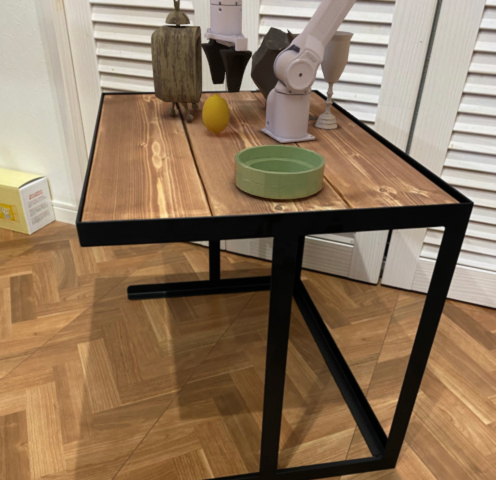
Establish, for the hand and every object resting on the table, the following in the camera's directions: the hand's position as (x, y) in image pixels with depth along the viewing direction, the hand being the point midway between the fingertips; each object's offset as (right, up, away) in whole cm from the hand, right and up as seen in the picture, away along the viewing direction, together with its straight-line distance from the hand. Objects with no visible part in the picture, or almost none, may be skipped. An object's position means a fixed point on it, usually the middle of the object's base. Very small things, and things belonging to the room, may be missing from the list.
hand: (225, 87), depth 98 cm
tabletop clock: (-11, +2, +19) cm, 22 cm away
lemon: (-2, -7, +7) cm, 10 cm away
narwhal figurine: (+12, +6, +25) cm, 28 cm away
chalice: (+22, -1, +16) cm, 27 cm away
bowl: (+9, -23, -15) cm, 29 cm away
